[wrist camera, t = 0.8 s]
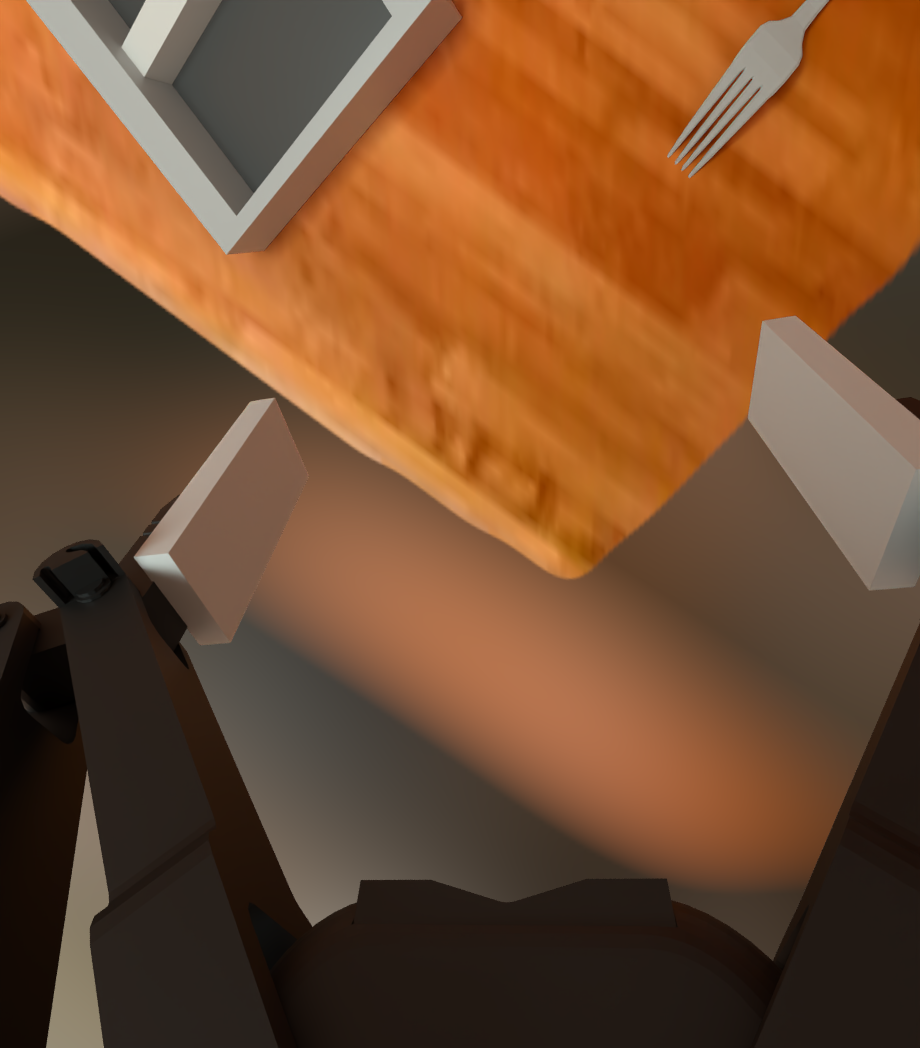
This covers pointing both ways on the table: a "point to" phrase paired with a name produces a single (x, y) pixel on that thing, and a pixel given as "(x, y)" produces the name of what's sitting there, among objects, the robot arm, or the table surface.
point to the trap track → (247, 90)
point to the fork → (763, 62)
